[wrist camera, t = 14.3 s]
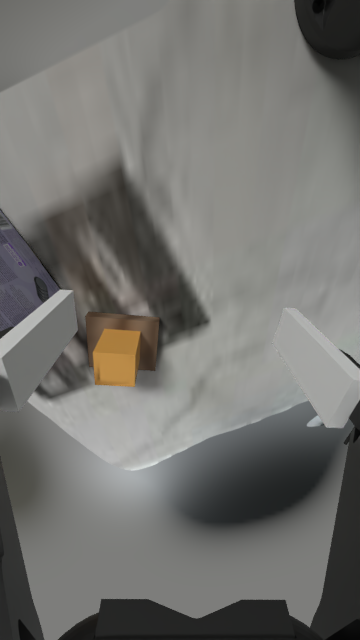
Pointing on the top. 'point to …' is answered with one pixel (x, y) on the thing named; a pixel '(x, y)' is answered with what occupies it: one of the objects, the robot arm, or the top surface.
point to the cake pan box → (20, 278)
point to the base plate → (125, 322)
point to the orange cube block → (117, 358)
